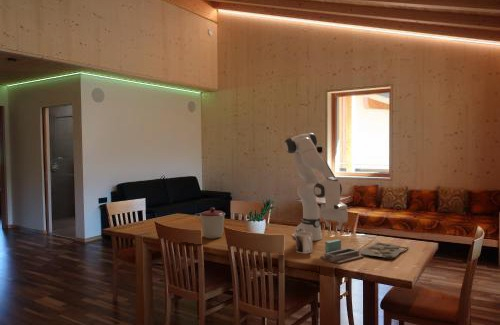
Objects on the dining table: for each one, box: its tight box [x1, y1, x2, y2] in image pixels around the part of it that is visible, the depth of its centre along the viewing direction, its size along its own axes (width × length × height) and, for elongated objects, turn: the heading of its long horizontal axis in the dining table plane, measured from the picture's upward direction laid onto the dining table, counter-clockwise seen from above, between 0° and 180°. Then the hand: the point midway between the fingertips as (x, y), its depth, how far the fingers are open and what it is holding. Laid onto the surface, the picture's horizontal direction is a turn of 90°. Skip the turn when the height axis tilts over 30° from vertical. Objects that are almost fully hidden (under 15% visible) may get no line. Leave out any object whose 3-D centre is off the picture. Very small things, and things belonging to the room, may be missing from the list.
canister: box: [199, 207, 226, 240], centre depth 277 cm, size 18×18×21 cm
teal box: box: [324, 238, 342, 253], centre depth 235 cm, size 3×10×7 cm, turn 123°
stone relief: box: [359, 241, 410, 261], centre depth 234 cm, size 32×3×20 cm
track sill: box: [320, 247, 365, 265], centre depth 224 cm, size 14×20×4 cm
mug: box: [295, 232, 314, 254], centre depth 237 cm, size 10×12×11 cm
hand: (333, 227), depth 234 cm, fingers open, 8 cm apart
